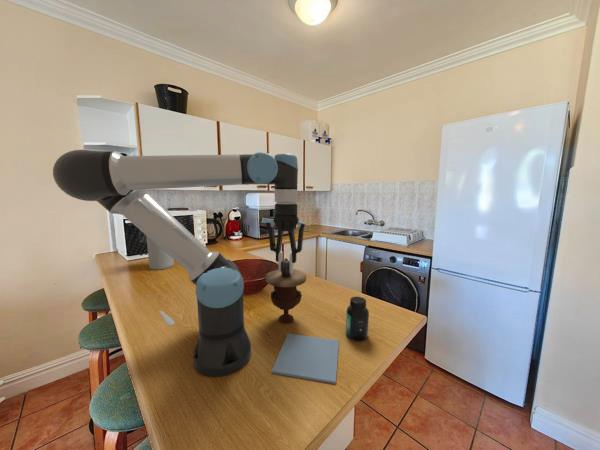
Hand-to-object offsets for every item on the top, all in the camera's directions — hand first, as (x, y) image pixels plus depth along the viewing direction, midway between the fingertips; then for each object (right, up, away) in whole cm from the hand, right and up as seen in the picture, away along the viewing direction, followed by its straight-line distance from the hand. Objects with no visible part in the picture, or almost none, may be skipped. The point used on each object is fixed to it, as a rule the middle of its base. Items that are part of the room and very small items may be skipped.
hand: (286, 271), depth 82 cm
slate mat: (+7, -21, -16) cm, 27 cm away
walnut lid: (0, -3, 0) cm, 3 cm away
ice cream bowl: (0, -18, +3) cm, 18 cm away
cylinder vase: (-76, -9, +58) cm, 96 cm away
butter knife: (-48, -17, +8) cm, 52 cm away
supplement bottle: (+23, -19, -6) cm, 31 cm away
